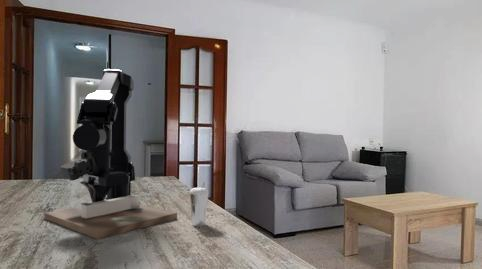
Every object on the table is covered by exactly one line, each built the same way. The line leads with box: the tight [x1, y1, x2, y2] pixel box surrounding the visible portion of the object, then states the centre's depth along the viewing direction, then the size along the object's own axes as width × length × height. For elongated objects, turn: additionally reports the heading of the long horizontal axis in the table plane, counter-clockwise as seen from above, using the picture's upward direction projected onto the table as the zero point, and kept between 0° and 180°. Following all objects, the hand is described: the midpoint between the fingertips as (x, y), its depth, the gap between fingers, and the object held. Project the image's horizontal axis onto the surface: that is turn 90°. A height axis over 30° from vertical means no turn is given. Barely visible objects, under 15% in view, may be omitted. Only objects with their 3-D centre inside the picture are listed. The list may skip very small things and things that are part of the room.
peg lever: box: [80, 194, 141, 218], centre depth 88 cm, size 16×4×3 cm, turn 145°
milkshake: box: [188, 181, 209, 227], centre depth 84 cm, size 4×5×10 cm
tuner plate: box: [43, 203, 178, 240], centre depth 88 cm, size 22×25×2 cm
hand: (96, 209), depth 87 cm, fingers closed
